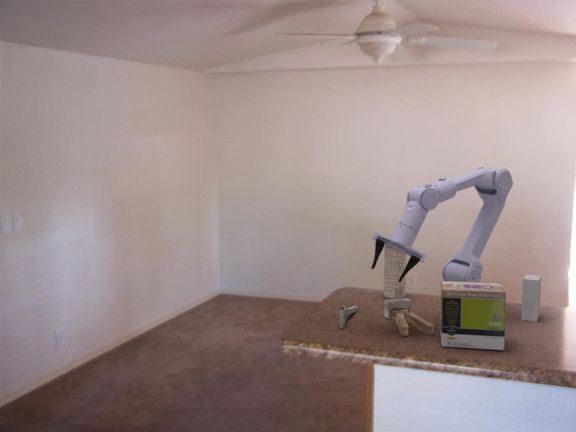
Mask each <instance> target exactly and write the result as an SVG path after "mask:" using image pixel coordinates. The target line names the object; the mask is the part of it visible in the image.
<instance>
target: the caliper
mask: <svg viewBox="0 0 576 432" xmlns="http://www.w3.org/2000/svg"><path fill="white" fill-rule="evenodd" d="M358 310H359V305H353V306H350V307H346V305H340V309H339V316H338V318H339V319H338V321H339V322H338V328H339V329H344V328H345V327H346V319H348V318H349V315H351V314H353V313H355V312H357V311H358Z"/></svg>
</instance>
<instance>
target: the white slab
mask: <svg viewBox="0 0 576 432" xmlns="http://www.w3.org/2000/svg"><path fill="white" fill-rule="evenodd" d="M412 302H413V301H412V299H410V298H408V297H405V298H399V299H384V301H383V305H384V306H383V317H384V318H386V319H388V320H390V319H391V318H390V309H397V308H405V309H407V310H408V313H412V309H413V308H412Z"/></svg>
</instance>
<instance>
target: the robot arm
mask: <svg viewBox="0 0 576 432" xmlns="http://www.w3.org/2000/svg"><path fill="white" fill-rule="evenodd" d="M513 185H514V182H513V177H512V174H511V171H510V170H509V169H506V168H490V167H483V166H481V167H477V168H473V169H471V170H470V171H469V172H466V173H464V174H462V175H460V176H458V177H455V178H454V179H450V178H448V177H443V176H442V177H439V178H438V180H437V181H434V182H432V183H429V182H428V183H425V185H423V186H422V187H421V186H416V187H413V188H412V189H411V190H410V191H408V192H407V194H406V204H405V206H404V208H405V209H404V211H403V213H402V215H401V217H400V220H399V221H398V224H397V226H396V227H395V230H394V232H393V233H392V234H393V235H392V236H388V235H385V234H383V233H381V232H378V231H374V234H373V236H372V239H373V240H374V241H375V242H374V243H375V244H374V247H375V249H374V256H373V261H372V265H371V269H372V270H375V267H376V265H377V263H378V260H379V258H380V256H381V254H382V251H384V248H385V244H386V245H388V246H390V247H392V248H394V249H396V250H398V251H400V252H403V253H405V254H406V256H407V255H408V256H409V258H408V261H407V262H406V267H405V269H404V271H403V273H402V275H401V276H400V278H399V280H398V282H401V281H402V279H403V278H404V276H405V275H406V276H407V274H408V273H409V272H410V271H411V270H412V269H414V267H415V266H417V265H418V264H419V262H420V263H424V262H425V260H426V258H427V256H428V255H427V254H425V253H423V252H421V251H420V250H418V249H416V248H414V247H412V246H413V245H414V243H415V241H416V239H417V237H418V234H419V232H420V231H421V229H422V227H423V224H424V222H425V220H426V217H427V216H428V214H429V212H430V211H432V210H435V209H436V208H437V206H438V205H439V204H441V203H443V202H446V201H448V200H451V199H453V198H454V197H456V195H457V192H460V191H463V190H466V189H469V188H472V187H474V189H475V191H476V192H477V194H478V196H479V198H480V199H481V200H482V202H483V204H482V206H481V208H480V210H479V213H478V214H477V215H476V218H475V221H474V222H473V225H472V227H471V229H470V231H469V233H468V234H467V237H466V239H465V240H464V241H465V242H464V243H463V246H462V248H461V250H460V251H458V252H456V253H454V254H453V255H451V256H450V259H449V260H448V261H447V262H446V263H445V264H444V266H443V268H442V269H441V277H442V280H443V281H453V282H454V281H455V282H481V278H482V272H483V270H484V266H483V264H482V263H481V260H480V258H481V256H482V253H483V252H484V250H485V248H486V246H487V244H488V241H489V239H490V238H491V235H492V233H493V231H494V228H495V227H496V224H497V223H498V221H499V218H500V217H501V214H502V212H503V210H504V208H505V205H506V202H507V198H508V195H509V194H510V191H511V190H512V188H513ZM393 245H394V246H393ZM395 246H396V247H395ZM397 247H398V248H397ZM399 248H400V249H399ZM401 249H403V250H405V251H403V250H401ZM439 314H440V316H441V312H440V313H439Z"/></svg>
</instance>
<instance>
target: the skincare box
mask: <svg viewBox="0 0 576 432" xmlns="http://www.w3.org/2000/svg"><path fill="white" fill-rule="evenodd" d="M522 280H523V281H522V296H521V297H522V298H521V300H522V301H521V302H522V303H521V318H520V320H521V321H526V320H527V322H534V323H537V321H538V320H539V318H540V313H541V309H540V308H541V293H542V291H541V288H542V275H536V274H525V276H524V277H523V279H522Z"/></svg>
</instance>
